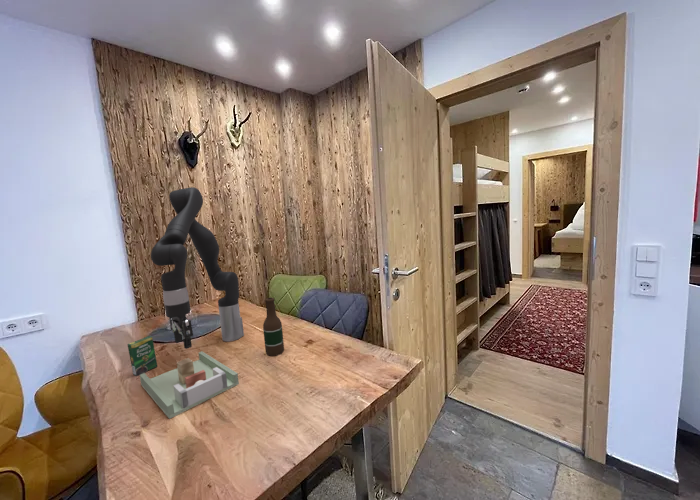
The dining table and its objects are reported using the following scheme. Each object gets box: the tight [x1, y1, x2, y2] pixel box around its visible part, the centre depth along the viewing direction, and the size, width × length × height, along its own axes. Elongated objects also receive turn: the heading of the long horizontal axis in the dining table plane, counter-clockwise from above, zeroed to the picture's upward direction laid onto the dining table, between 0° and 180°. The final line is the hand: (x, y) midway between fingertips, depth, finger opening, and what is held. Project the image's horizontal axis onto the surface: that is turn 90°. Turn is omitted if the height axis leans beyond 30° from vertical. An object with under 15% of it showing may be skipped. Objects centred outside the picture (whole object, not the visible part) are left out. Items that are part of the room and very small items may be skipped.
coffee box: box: [127, 335, 158, 377], centre depth 116 cm, size 8×3×13 cm, turn 150°
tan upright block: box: [176, 357, 206, 389], centre depth 102 cm, size 6×12×7 cm, turn 49°
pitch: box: [139, 350, 240, 420], centre depth 104 cm, size 22×30×4 cm
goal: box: [173, 367, 228, 409], centre depth 97 cm, size 14×7×5 cm, turn 139°
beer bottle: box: [262, 297, 285, 357], centre depth 124 cm, size 8×8×24 cm
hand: (183, 344), depth 104 cm, fingers open, 8 cm apart
